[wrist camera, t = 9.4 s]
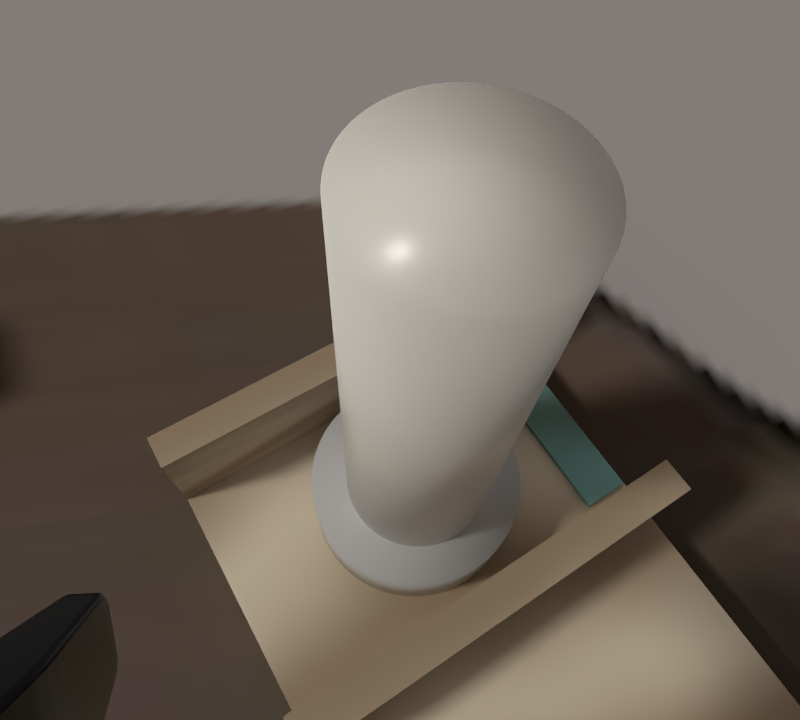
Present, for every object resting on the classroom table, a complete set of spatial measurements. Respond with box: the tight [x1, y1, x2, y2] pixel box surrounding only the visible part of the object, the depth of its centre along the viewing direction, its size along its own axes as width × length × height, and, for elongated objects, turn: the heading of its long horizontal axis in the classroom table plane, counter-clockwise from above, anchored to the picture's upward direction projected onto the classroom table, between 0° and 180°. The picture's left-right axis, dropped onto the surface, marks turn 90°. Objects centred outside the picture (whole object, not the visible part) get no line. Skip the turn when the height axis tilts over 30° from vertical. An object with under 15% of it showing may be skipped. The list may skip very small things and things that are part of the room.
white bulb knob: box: [311, 82, 626, 596], centre depth 15 cm, size 6×6×14 cm
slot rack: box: [147, 343, 800, 720], centre depth 19 cm, size 20×12×4 cm, turn 32°
